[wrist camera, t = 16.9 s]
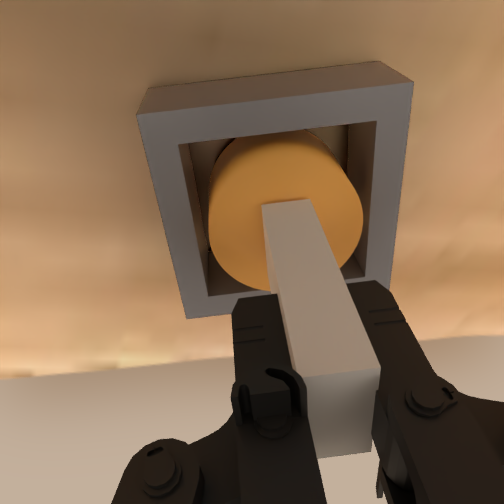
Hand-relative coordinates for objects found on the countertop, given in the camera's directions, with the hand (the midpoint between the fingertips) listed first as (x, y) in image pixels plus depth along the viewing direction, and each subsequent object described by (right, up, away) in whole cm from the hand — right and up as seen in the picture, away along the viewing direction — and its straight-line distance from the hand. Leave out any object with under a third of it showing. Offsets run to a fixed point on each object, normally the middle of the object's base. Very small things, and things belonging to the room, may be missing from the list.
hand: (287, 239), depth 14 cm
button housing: (0, +2, +3) cm, 4 cm away
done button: (0, +2, +3) cm, 3 cm away
